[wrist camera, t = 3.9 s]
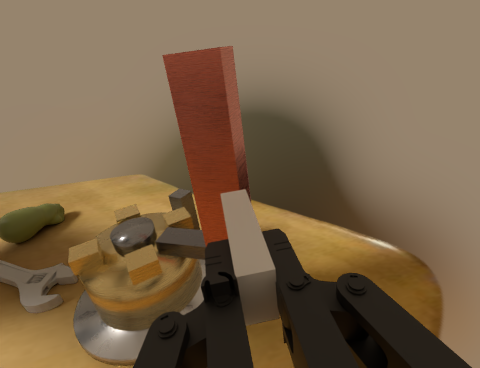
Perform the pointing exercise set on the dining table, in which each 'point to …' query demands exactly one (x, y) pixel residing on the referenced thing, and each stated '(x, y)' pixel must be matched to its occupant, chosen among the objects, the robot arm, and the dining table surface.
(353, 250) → the dining table surface
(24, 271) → the adjustable wrench
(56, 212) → the pear
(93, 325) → the spindle base
